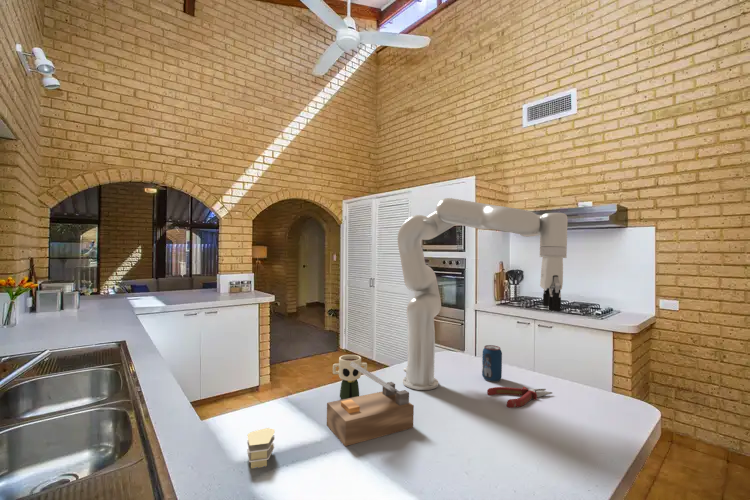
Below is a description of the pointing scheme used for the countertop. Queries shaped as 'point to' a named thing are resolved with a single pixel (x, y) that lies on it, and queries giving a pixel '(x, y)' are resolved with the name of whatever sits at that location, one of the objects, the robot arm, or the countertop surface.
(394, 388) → the latch lever
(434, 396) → the countertop surface
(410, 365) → the robot arm
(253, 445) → the pale yellow faceted block
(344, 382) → the character mug
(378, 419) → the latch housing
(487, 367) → the soda can
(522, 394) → the pliers
